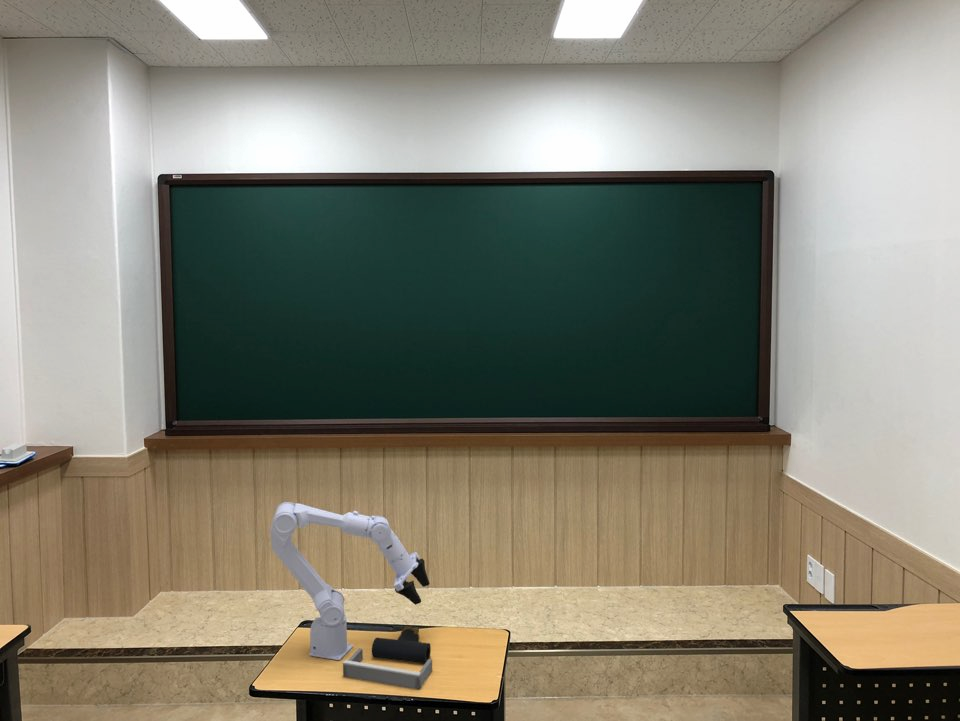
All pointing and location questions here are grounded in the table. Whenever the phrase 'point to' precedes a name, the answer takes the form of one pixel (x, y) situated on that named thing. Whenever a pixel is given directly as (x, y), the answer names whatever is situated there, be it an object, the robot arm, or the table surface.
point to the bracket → (385, 672)
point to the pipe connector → (402, 647)
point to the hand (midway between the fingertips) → (422, 593)
